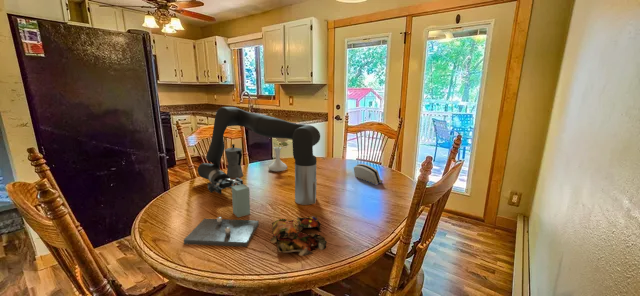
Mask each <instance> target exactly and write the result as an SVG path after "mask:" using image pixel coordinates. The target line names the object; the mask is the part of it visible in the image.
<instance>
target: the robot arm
mask: <svg viewBox="0 0 640 296" xmlns="http://www.w3.org/2000/svg"><path fill="white" fill-rule="evenodd" d="M237 126H238V127H244V128H248V129H249V130H251V131H252V132H253V133H255V134H256V135H257V134H258V135H260V136H263V137H267V138H274V139H276V138H288V140H292V143H291V144H292V157H293V159H294V201H295V203H296V204H298V205H302V206H304V205H306V206H307V205H314V204H315V205H316V202H317V182H318V181H317V180H318V179H317V157H316V156H315V155H314V150H313V147H314V146H315V145H317V144H318V143H319V142H320V140H321V133H320V131H319V130H318V128H316V127H315V126H313V125H310V124H302V123H296V122H295V123H294V122H290V121H287V120H285V119H281V118H278V117H273V116H269V115H265V114H260V113H255V112H249V111H246V110H243V109H242V108H241V109H240V108H238V107H235V106H222V107H218V109H217V111H216V113H215V116H214V123H213V129H212V135H211V141H210V144H209V147H208V150H207V152H206V156H205V157H206V158H205V159H206V160H207V161H208V162H209V163H207V162H202V163H200V164H199V165H198V166H197V174H198V175H199V177H201V178H202V179H204V180H208V181H209V182H207V190H208V191H209V193H214V192H215V193H217V194H219V195H222V193H223V192H222V191H223V190H225V189H226V188H227V189H228V188H231V189H232V186H237V185H242V184H244V180H243V179H241V177H239V178H238V177H236V178H230V177H229V176H228V175H227V172H225V171H223V170H221V160H222V157H223V155H224V152H225V149H226V148H225V147H226V146H225V145H226V144H225V141H224V140H225V139H224V135H225V131H226V129H227V127H237Z"/></svg>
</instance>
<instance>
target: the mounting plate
mask: <svg viewBox="0 0 640 296" xmlns="http://www.w3.org/2000/svg"><path fill="white" fill-rule="evenodd" d="M259 222H260V220H254V219H253V220H251V219H250V220H249V219H229V218H228V219H226V218H225V219H224V218H223V217H222V216H217V217H216V218H203V219H202V220H201V221H200V222H199V223H198V224H197V225H196V227H194V228H193V230H192V231H191V232H190V233H189V234H188V235H187V236H186V237H185V238H184V239H183V244H184V245H197V246H217V247H218V246H219V247H220V246H222V247H225V246H226V247H246V248H247V247H248V245H249V243H250V241H251V240H252V238H253V236H254V234H255V232H256V231H257V228H258V226H259V224H260V223H259Z"/></svg>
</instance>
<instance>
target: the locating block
mask: <svg viewBox="0 0 640 296" xmlns="http://www.w3.org/2000/svg"><path fill="white" fill-rule="evenodd" d="M236 185H237V184H236ZM231 199H232V214H234V215H235V217H237V218H241V217H245V216H249V215H250V214H251V205H250V204H251V203H250V202H251V201H250V200H251V199H250V187H249V186H247V185H246V184H245V183H243V184H242V185H237V186H233V185H232V188H231Z"/></svg>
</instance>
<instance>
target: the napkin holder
mask: <svg viewBox="0 0 640 296" xmlns="http://www.w3.org/2000/svg"><path fill="white" fill-rule="evenodd" d="M353 173H354V177H355V178H357V177H358V178H357V179H360V178H361V179H360V180H362V179H363V181H365V180H366V181H365V182H367V181H369V182H368V183H370V182H372V183H371V184H373V183H374V184H373V185H375V184H378V185H379V184H382V183H381V182H383V180H382V179H381V177H380V174H379V171H378V169H376V168H374V167H373V166H371V165H369V164H365V163H358V164H356V165H355V166H354V167H353Z"/></svg>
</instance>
